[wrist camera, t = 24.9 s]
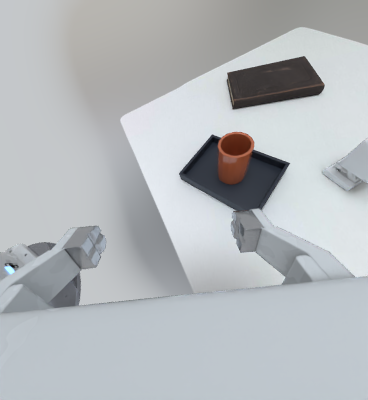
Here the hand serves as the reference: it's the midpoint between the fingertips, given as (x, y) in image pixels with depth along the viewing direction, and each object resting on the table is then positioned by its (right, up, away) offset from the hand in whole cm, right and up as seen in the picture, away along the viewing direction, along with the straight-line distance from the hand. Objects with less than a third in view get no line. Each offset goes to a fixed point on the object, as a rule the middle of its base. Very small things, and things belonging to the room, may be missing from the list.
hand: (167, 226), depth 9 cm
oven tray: (+12, +8, +26) cm, 30 cm away
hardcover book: (+27, +37, +37) cm, 59 cm away
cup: (+12, +8, +26) cm, 29 cm away
